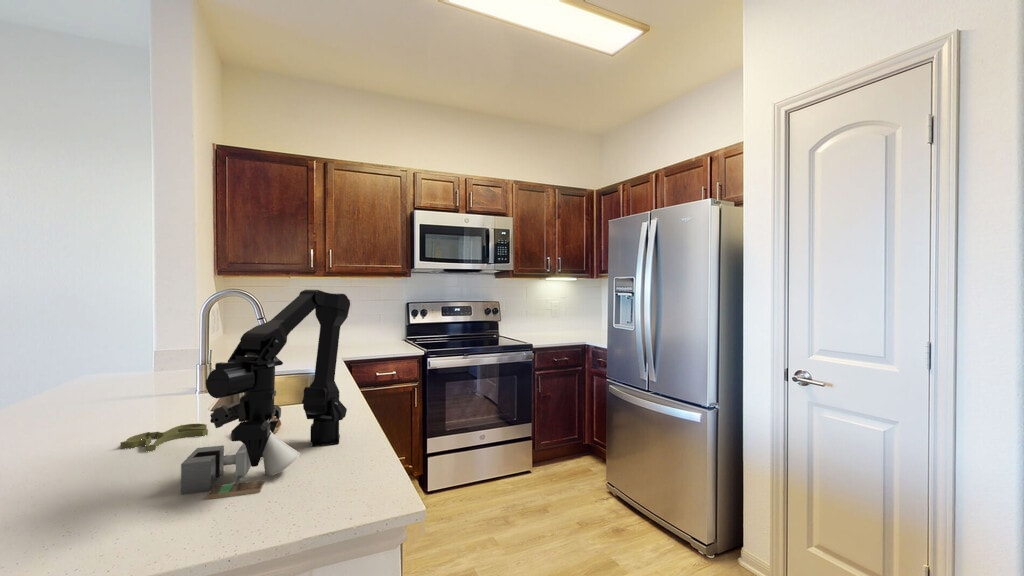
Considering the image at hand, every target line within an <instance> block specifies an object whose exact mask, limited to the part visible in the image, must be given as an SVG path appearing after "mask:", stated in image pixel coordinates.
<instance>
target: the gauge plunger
mask: <svg viewBox="0 0 1024 576" xmlns="http://www.w3.org/2000/svg"><path fill="white" fill-rule="evenodd" d="M223 465H224V466H231V465H235V475H234V476H235V480H234V482H233V486H237V484H238V483H240V481H241V479H243V478H246V475H248V472H249V471H250V469H251V467H252V466H251V463H250V459H249V456H248V452H247V449H246V446H245V444H244V443H242V444H241V446H240V447H239V448H238V450H237V451H236V452H235V454H226V455H225V454H224V458H223Z"/></svg>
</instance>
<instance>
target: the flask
mask: <svg viewBox="0 0 1024 576" xmlns="http://www.w3.org/2000/svg"><path fill="white" fill-rule="evenodd" d="M270 432H271V430H270ZM262 455H263V457H262V460H263V467H264V468H263V469H264V475H265V476H267V477H269V476H270V477H272V476H274V475H276V474H278V473H281V472H282V471H284V470H286V469H287V468H288V467H290V465H291V464H293V463H294V462H296V460H297V459H298V458H299V456H300V455H301V453H300V452H299V451H297V450H296V449H294V448H293V447H291V446H290V445H289V444H287V443H285V442H284V441H282V440H281V439H280V438H278V437H277V436H276V435H275V433H274V434H273V433H272V432H271V435H270V437H269V440H268V442H267V445H266V447H265V449H264V452H263V454H262Z"/></svg>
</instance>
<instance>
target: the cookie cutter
mask: <svg viewBox="0 0 1024 576" xmlns="http://www.w3.org/2000/svg"><path fill="white" fill-rule="evenodd" d="M207 425H208V424H205V423H187V424H181V425H178V426H175V427H172V428H170V429H167V430H166V431H163V432H161V431H154V432H153V431H152V432H151V431H150V432H149V431H147V432H146V431H145V432H143V433H139V434H135V435H133V436H130V437H128V438H127V439H126V440H124V441H121V442H119V443H120V444H119V445H120V447H119V449H120V450H123V449H125V448H126V449H128V448H129V449H130V450H131V448H132V449H135V447H137V448H140V447H139V446H142V447H145V452H146V451H147V452H146V453H149V452H148V451H151V452H154V451H153V450H155V451H156V448H157V447H159V446H160V445H162V444H164V442H165V443H167V442H170V441H174V440H179V439H185V438H186V437H187V438H196V437H195V436H203V437H206V436H209V433H208V431H209V429H208V428H207ZM205 435H206V436H205ZM157 437H158V438H157ZM151 438H154V439H155V441H154V442H153V444H152V439H151ZM141 439H142V440H141ZM150 443H151V444H150ZM159 444H160V445H159ZM144 445H146V446H144ZM156 446H157V447H156ZM126 449H125V450H126Z"/></svg>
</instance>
